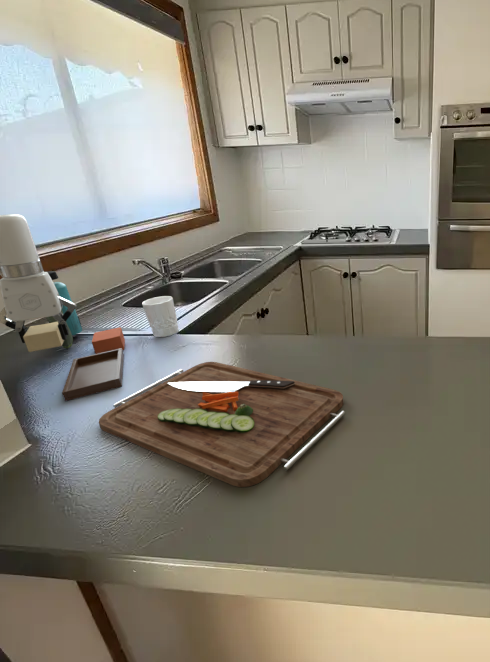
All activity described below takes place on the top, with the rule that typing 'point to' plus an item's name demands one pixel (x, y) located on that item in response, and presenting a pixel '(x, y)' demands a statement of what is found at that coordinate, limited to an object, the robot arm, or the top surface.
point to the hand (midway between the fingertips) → (47, 340)
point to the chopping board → (225, 420)
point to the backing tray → (94, 374)
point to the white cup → (161, 315)
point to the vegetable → (69, 339)
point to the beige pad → (43, 337)
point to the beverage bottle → (63, 292)
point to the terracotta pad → (108, 340)
